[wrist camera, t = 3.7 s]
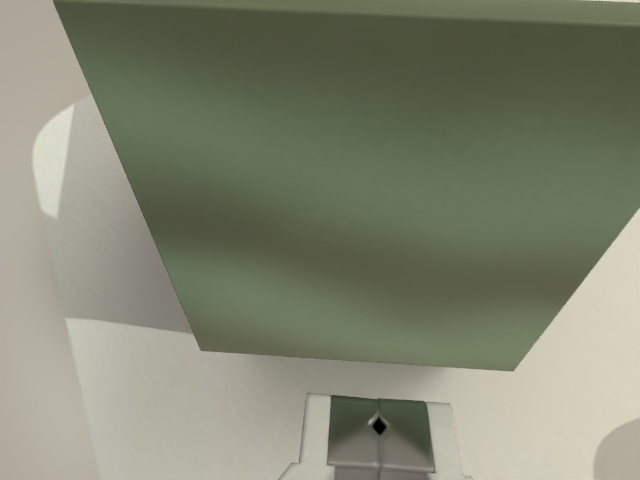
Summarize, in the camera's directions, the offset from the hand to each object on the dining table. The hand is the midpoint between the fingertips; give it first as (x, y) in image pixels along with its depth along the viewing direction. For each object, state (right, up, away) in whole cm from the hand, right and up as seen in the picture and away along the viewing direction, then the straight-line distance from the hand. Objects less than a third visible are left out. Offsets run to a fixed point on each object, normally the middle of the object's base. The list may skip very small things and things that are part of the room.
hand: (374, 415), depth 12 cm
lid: (0, +4, +6) cm, 7 cm away
